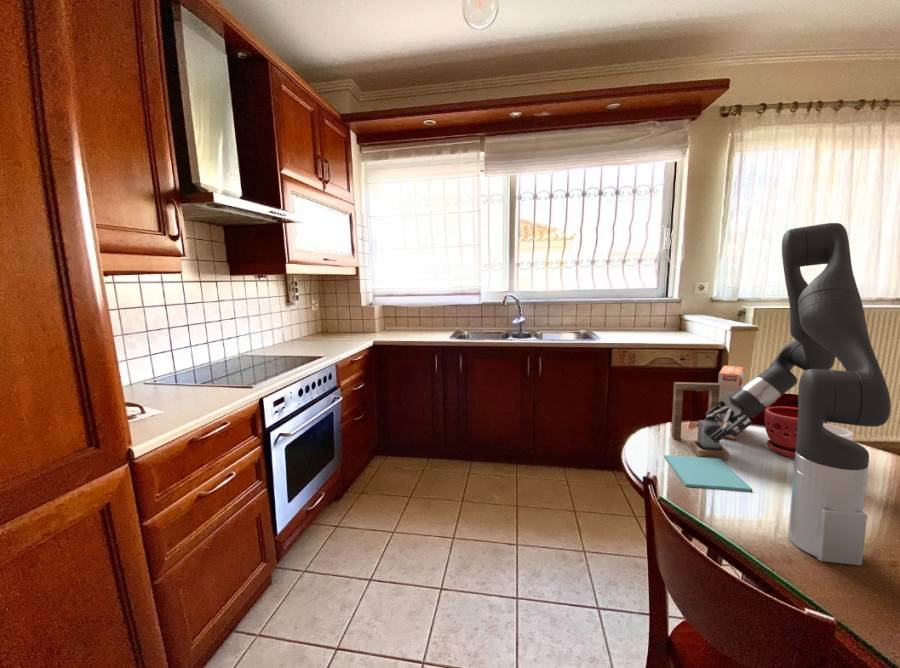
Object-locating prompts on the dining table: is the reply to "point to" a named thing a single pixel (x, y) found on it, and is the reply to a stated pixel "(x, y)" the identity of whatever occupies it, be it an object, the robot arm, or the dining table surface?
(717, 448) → the steel bar
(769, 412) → the plant pot
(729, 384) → the cracker box
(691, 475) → the teal mat
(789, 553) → the dining table surface
